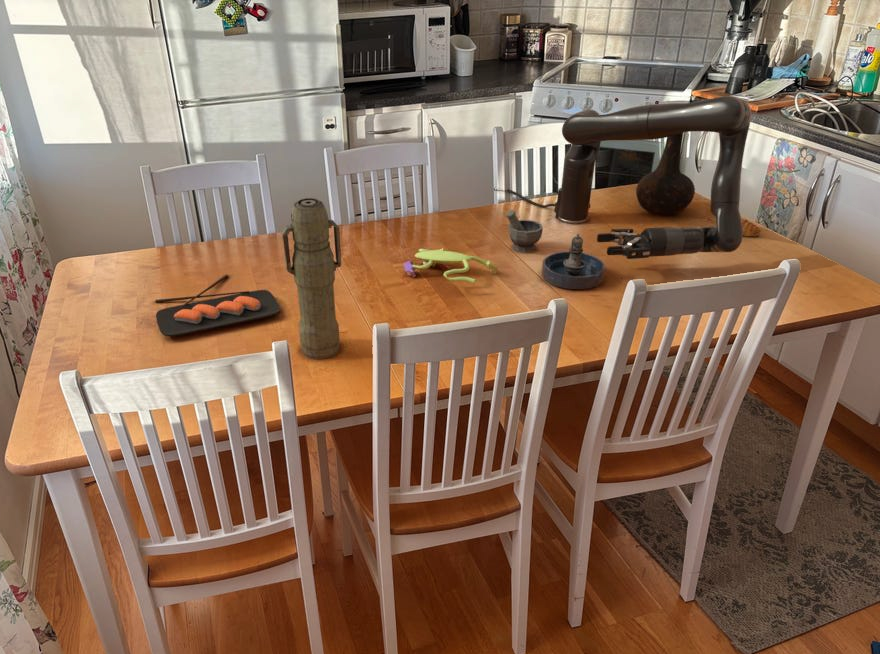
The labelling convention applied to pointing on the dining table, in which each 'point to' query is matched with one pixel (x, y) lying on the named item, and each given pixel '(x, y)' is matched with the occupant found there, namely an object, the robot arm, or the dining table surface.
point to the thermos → (314, 276)
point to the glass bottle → (666, 183)
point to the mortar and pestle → (523, 232)
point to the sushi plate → (215, 311)
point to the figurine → (445, 258)
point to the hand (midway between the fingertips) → (602, 244)
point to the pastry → (749, 228)
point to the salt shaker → (575, 258)
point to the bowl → (590, 278)
